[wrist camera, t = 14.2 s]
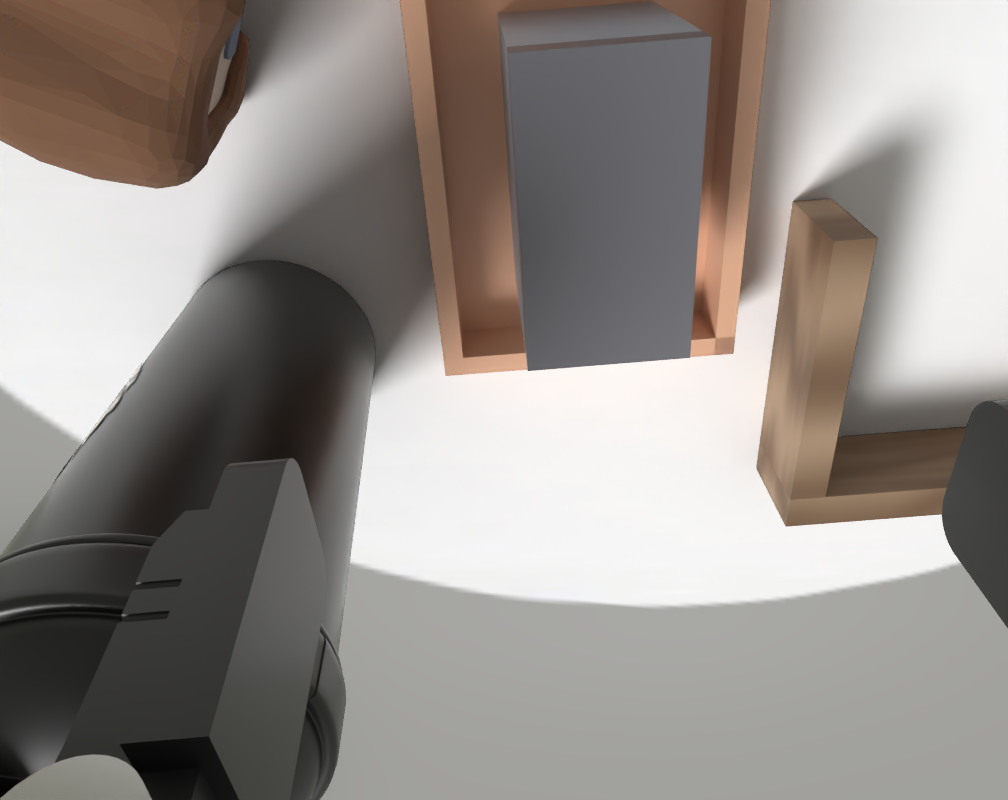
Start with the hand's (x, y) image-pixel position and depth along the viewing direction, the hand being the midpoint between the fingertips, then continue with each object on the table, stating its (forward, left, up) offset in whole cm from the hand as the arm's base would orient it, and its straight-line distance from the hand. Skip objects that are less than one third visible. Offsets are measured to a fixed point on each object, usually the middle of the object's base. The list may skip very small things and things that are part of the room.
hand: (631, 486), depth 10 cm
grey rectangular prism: (+3, +2, -24) cm, 24 cm away
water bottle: (+11, -11, -24) cm, 29 cm away
